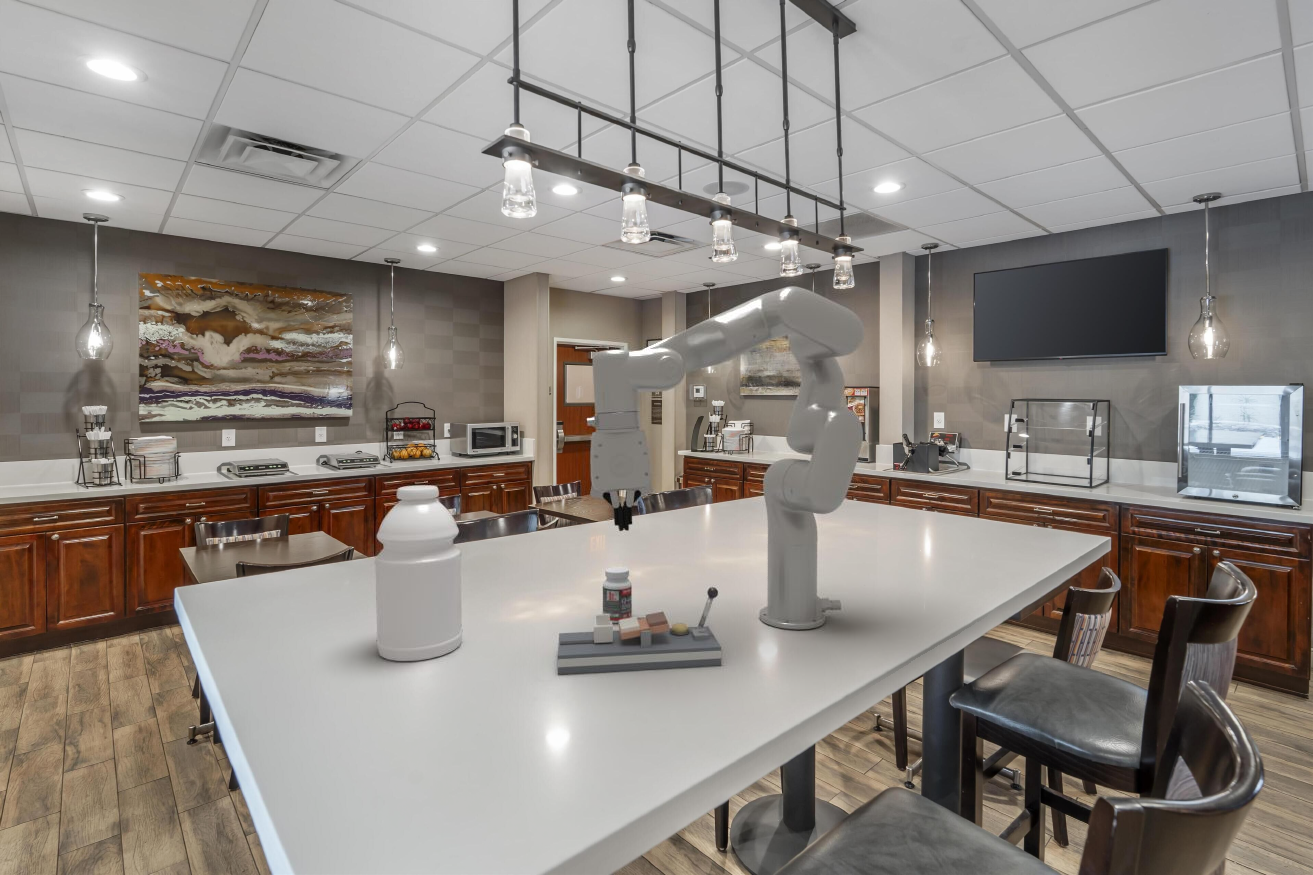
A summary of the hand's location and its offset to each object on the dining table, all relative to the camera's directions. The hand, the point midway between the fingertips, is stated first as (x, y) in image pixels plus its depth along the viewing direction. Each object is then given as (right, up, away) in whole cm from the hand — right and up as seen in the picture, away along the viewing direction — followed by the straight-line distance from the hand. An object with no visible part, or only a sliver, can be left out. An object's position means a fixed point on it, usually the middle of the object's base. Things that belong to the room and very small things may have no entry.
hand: (623, 529), depth 108 cm
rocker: (+4, -16, -4) cm, 16 cm away
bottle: (-35, -21, +1) cm, 41 cm away
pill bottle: (-2, -20, +16) cm, 26 cm away
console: (+3, -21, -4) cm, 21 cm away
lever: (+13, -16, -3) cm, 21 cm away
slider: (-3, -18, -5) cm, 19 cm away
